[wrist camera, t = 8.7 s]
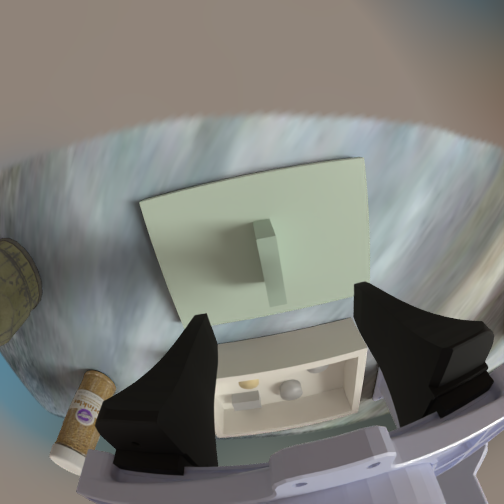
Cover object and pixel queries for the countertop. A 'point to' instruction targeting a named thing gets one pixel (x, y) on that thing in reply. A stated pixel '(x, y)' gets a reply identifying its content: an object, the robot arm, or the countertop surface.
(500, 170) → the countertop surface
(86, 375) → the sprinkles bottle
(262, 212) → the lid
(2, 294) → the thermos
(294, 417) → the tub
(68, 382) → the countertop surface
